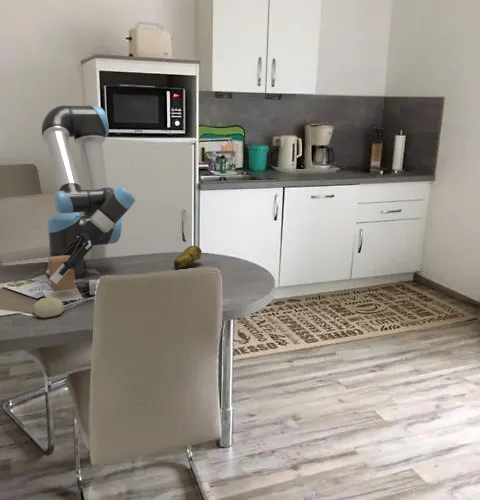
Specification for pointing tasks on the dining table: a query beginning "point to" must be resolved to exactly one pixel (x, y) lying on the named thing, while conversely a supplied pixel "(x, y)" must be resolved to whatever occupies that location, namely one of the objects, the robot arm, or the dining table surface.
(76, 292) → the tile
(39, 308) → the sea urchin shell
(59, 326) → the dining table surface
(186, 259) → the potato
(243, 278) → the dining table surface
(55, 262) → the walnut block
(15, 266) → the dining table surface
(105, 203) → the robot arm
